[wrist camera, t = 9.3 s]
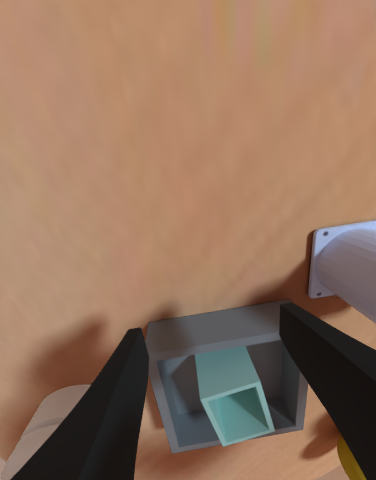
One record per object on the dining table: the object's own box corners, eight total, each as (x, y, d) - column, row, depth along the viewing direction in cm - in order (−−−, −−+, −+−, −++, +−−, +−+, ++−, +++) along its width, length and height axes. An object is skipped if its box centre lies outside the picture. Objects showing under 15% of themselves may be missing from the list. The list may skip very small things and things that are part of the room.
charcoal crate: (289, 299, 21) (314, 325, 17) (284, 393, 26) (303, 429, 22) (148, 322, 21) (142, 355, 17) (172, 413, 26) (172, 453, 22)
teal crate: (240, 335, 21) (260, 381, 16) (254, 380, 24) (275, 431, 19) (194, 350, 21) (200, 399, 17) (213, 393, 24) (223, 446, 19)
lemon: (343, 443, 32) (396, 527, 24) (318, 438, 31) (366, 524, 23) (364, 423, 30) (428, 505, 23) (339, 417, 29) (397, 501, 22)
